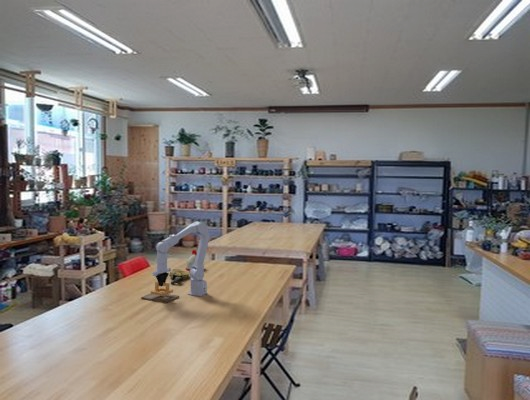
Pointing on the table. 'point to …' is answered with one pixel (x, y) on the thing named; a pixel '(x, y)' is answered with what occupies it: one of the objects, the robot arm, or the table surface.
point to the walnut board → (160, 298)
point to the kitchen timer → (191, 260)
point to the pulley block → (178, 275)
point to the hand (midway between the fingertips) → (161, 285)
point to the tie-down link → (162, 289)
